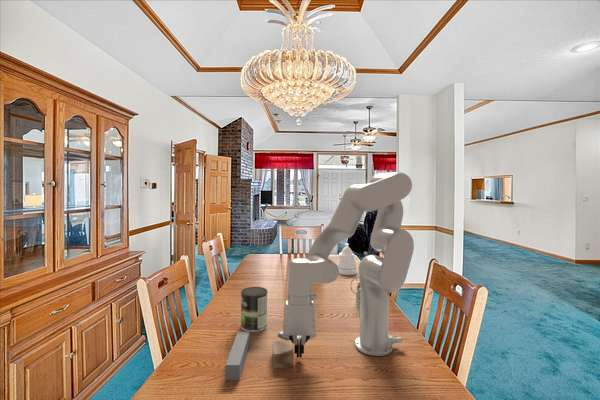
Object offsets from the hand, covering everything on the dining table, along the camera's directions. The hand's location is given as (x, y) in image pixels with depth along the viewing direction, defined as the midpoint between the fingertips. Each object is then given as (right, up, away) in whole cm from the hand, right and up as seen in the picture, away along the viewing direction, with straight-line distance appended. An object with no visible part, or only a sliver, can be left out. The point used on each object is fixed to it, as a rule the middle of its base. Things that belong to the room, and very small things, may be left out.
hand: (299, 355), depth 98 cm
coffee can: (-18, -1, +24) cm, 30 cm away
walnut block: (-5, -2, 0) cm, 6 cm away
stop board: (-19, -2, 0) cm, 19 cm away
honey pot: (+30, +2, +102) cm, 106 cm away
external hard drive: (-1, -2, +19) cm, 19 cm away
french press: (+30, 0, +47) cm, 55 cm away
